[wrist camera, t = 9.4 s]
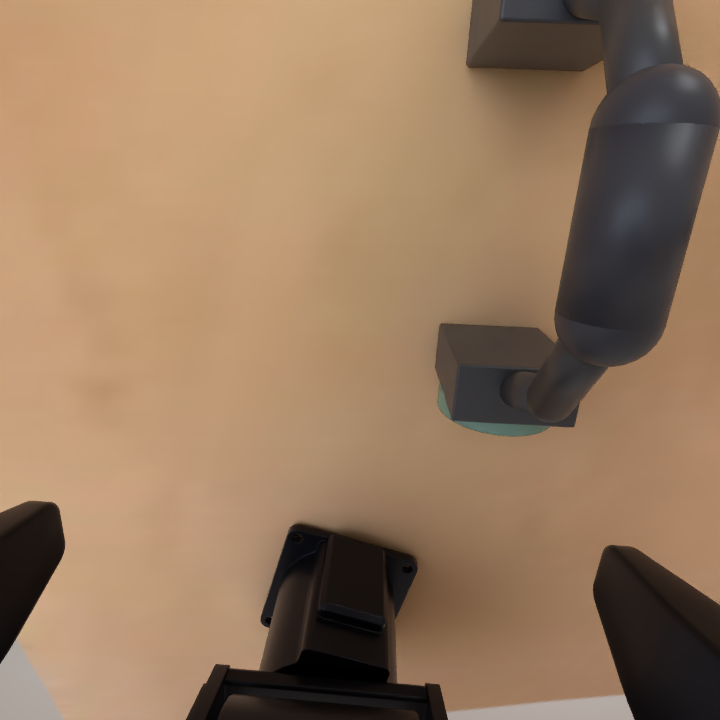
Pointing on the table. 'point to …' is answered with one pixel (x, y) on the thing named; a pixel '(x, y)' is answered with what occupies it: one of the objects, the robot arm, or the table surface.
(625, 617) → the robot arm
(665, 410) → the table surface
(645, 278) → the headphones
